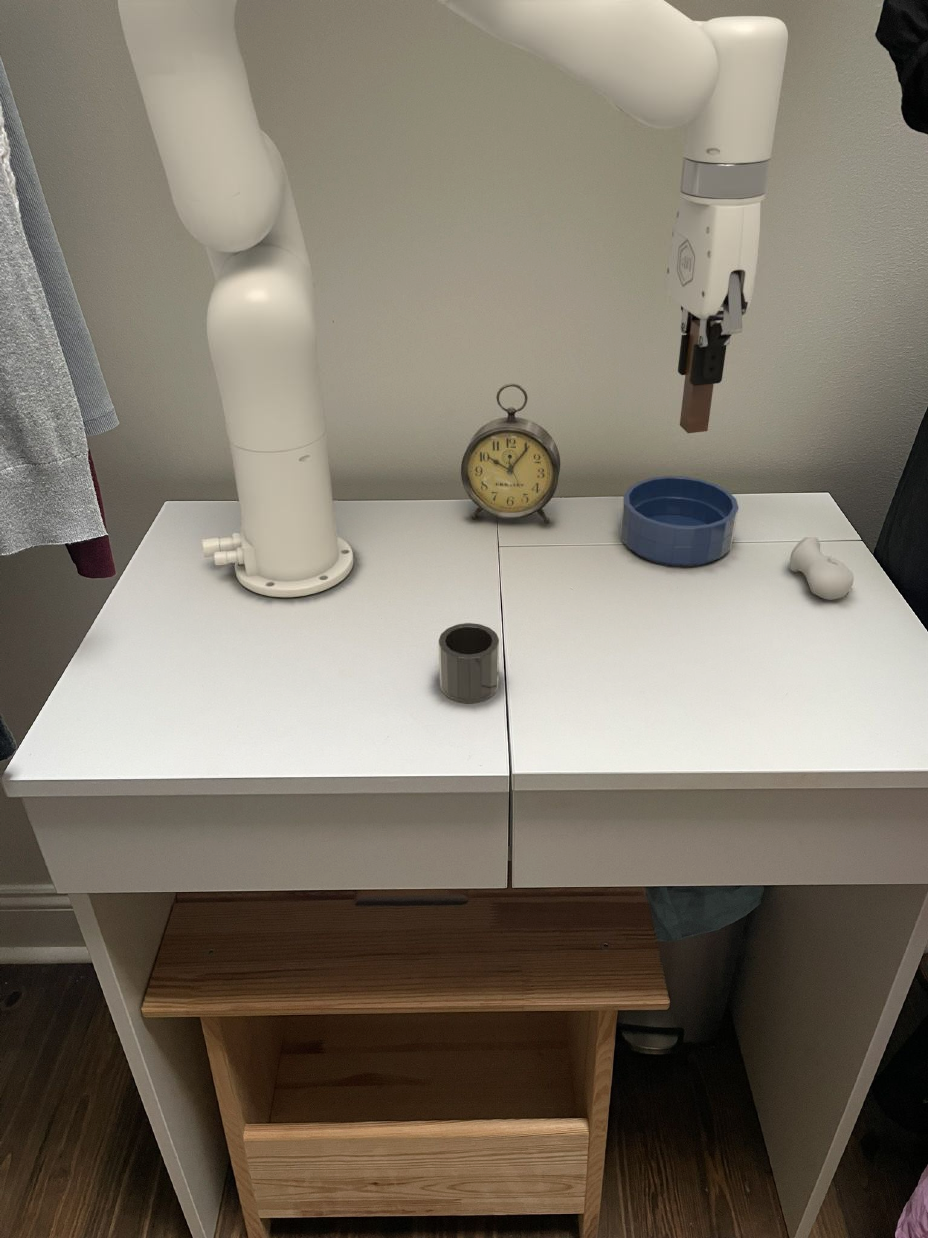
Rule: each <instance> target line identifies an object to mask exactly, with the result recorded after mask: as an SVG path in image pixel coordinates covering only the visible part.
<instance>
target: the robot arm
mask: <svg viewBox="0 0 928 1238" xmlns="http://www.w3.org/2000/svg"><path fill="white" fill-rule="evenodd" d="M237 2H238V0H117V7H118V13H119V18H120V23H121V28H122V32H123V35H124V39H125V42H126V46H127V49H128V53H129V56H130V59H131V63H132V67H133V70H134V73H135V77H136V80H137V84H138V86H139V89H140V93H141V96H142V99H143V104H144V107H145V110H146V114H147V117H148V121H149V124H150V127H151V131H152V134H153V138H154V140H155V144H156V147H157V151H158V153H159V157H160V160H161V163H162V166H163V169H164V172H165V176H166V180H167V183H168V187H169V191H170V193H171V199H172V203H173V206H174V208H175V211H176V213H177V216H178V218H179V219H180V221H181V223H182V224H183V226H184V228H185V229H186V230H187V231H188V232H189V233H190V234H191V236H193V238H194V239H195V240H197V241H198V242H199V243H200V244H202V245H203V246H204V248H205V251H206V254H207V257H208V260H209V264H210V266H211V269H212V273H213V276H214V280H215V283H214V286H213V287H212V288H213V289H212V291H211V294H210V297H209V301H208V305H207V310H206V311H207V312H206V337H207V344H208V349H209V353H210V358H211V361H212V366H213V369H214V374H215V377H216V382H217V386H218V391H219V394H220V399H221V406H222V410H223V416H224V422H225V429H226V434H227V439H228V444H229V450H230V456H231V462H232V467H233V475H234V480H235V486H236V492H237V497H238V504H239V510H240V517H241V523H240V532H233V533H232V534H231V536H227V537H226V536H225V537H210V538H202V539H201V545H202V552H203V557H204V558H210V557H213V558H214V564H215V566H223V565H228V564H234V571H235V576H236V579H237V580H238V582H239V583H240V584H241V585H242V586H243V587H244V588H245V589H248V590H249V591H251V592H253V593H257V594H258V595H262V596H267V597H273V598H296V597H297V598H298V597H305V596H309V595H314V594H318V593H321V592H324V591H326V590H328V589H330V588H332V587H334V586H336V585H338V584H339V583H340V582H342V581H344V579H345V578H346V577H348V575H349V574H350V573H351V571H352V569H353V567H354V552H353V550H352V547H351V545H350V544H349V543H348V542H347V541H346V540H344V539H343V538H342V537H340V536H338V535H337V527H336V516H335V508H334V507H335V505H334V499H333V498H334V497H333V488H332V477H331V468H330V459H329V458H330V457H329V456H330V455H329V449H328V438H327V428H326V422H325V421H326V420H325V412H324V411H325V409H324V403H323V392H322V385H321V384H322V383H321V375H320V367H319V357H318V343H317V341H318V340H317V328H316V309H317V308H316V285H315V279H314V274H313V271H312V267H311V262H310V259H309V254H308V251H307V248H306V243H305V239H304V235H303V231H302V228H301V227H302V226H301V224H300V220H299V215H298V211H297V208H296V204H295V200H294V196H293V191H292V187H291V184H290V180H289V177H288V173H287V169H286V166H285V163H284V160H283V158H282V156H281V155H282V154H281V153H280V151H279V149H278V148H277V146H276V144H275V143H274V141H273V140H272V139H271V138H270V137H269V136H268V134H267V133H265V131H263V130H262V129H261V127H260V122H259V120H258V115H257V112H256V109H255V105H254V102H253V97H252V94H251V90H250V85H249V79H248V74H247V70H246V66H245V63H244V59H243V56H242V54H241V51H240V45H239V42H238V38H237V34H236V28H235V11H236V7H237ZM436 2H438V3H439V4H441V5H443V6H444V7H445V8H447V9H449V10H450V11H452V12H453V13H455V14H457V15H458V16H460V17H461V18H463V19H464V20H465V21H467V22H469V23H470V24H472V25H473V26H475V27H477V28H478V29H480V30H482V31H484V32H485V33H487V34H488V35H490V36H492V37H494V38H495V39H497V40H499V41H500V42H503V43H506V44H508V45H509V46H513V47H516V48H518V49H521V50H523V51H525V52H528V53H530V54H532V55H534V56H536V57H538V58H540V59H542V60H544V61H545V62H547V63H548V64H551V65H553V66H554V67H556V68H558V69H559V70H561V71H562V72H564V73H566V74H568V75H569V76H571V77H572V78H574V79H576V80H577V81H579V82H581V83H582V84H584V85H585V86H587V87H589V88H590V89H591V90H593V91H595V92H596V93H598V94H599V95H601V96H603V98H604V99H605V101H606V102H607V103H608V104H609V105H610V106H611V107H612V108H613V109H615V110H616V111H618V112H620V113H621V114H623V115H625V116H627V117H630V118H631V119H634V120H636V121H638V122H640V123H641V124H643V125H645V126H647V127H649V128H653V129H657V130H672V129H676V128H680V127H683V126H684V125H686V127H685V128H686V129H685V139H684V150H683V157H682V158H683V159H682V168H681V177H680V189H679V200H678V204H677V208H676V212H675V217H674V222H673V227H672V232H671V238H670V240H671V241H670V245H669V252H668V259H667V267H666V274H665V282H664V283H665V284H664V289H665V293H666V294H667V296H668V297H669V298H670V299H672V300H673V301H674V302H675V303H677V304H678V305H679V306H680V310H681V320H680V321H681V322H680V332H681V336H680V337H681V338H680V346H679V347H680V348H679V355H678V356H679V357H678V365H677V372H678V374H679V375H681V376H685V373H686V364H687V356H688V347H689V338H690V329H691V321H692V320H700V329H699V338H698V344H696V345H694V348H693V356H692V365H691V373H690V383H691V384H692V385H693V386H697V385H707V384H714V385H716V384H720V383H721V382H722V381H723V380H722V379H723V376H724V375H723V374H724V368H725V367H724V366H725V360H726V353H727V347H728V346H729V344H730V341H731V337H732V336H733V335H736V334H739V333H741V332H742V330H743V316H744V315H746V314H747V313H748V311H749V310H750V307H751V305H752V300H753V296H754V290H755V283H756V277H757V270H758V269H757V268H758V260H759V259H758V258H759V249H760V237H761V236H760V234H761V206H762V205H761V203H762V202H763V201H765V200H766V193H767V192H766V191H767V186H768V179H769V172H770V166H771V157H772V151H773V143H774V139H775V132H776V131H775V130H776V124H777V117H778V111H779V106H780V98H781V93H782V85H783V79H784V72H785V64H786V58H787V51H788V44H789V32H788V28H787V25H786V24H785V22H783V20H781V19H779V18H777V17H773V16H764V15H762V16H761V15H737V16H736V15H735V16H720V17H714V18H710V19H709V20H706V21H704V20H692V19H691V18H690V17H688V16H687V15H685V14H684V13H683V12H681V11H680V10H679V9H677V8H675V6H673V5H671V4H670V3H668V2H667V1H665V0H436ZM721 308H723V309H722V310H720V309H721ZM711 321H716V322H718V321H719V322H718V323H714V324H713V325H712V327H711V328H710V324H711Z"/></svg>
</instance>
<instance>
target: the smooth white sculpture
mask: <svg viewBox="0 0 928 1238" xmlns="http://www.w3.org/2000/svg"><path fill="white" fill-rule="evenodd" d="M820 549H821V543H820V539H819V538H817V537H815V536H805V537H803V538H801V540H800V541H799V542H798V543H797V544H796V545H795V546H794V547H793V548H792V551H791V553H790V557H789V569H790V571H792V572H794V573H795V572H801V573H803V575H804V576H805V577H806V581H807V583H808V585H809V588H810V591H811V593H812V594H813V595H816V596H818V597H820V598H822V599H825V600H839V599H842V598H843V597H845V596H846V595H847V594H848V593H849V592H850V590H851V589H852V588H853V584H854V574H853V572H852V571H851V570H850V568H848V567H847V566H846V565H845V563H844V562H842V561H841V560H840V559H837V558H836V557H832V556H830V555H824V554H823V553H822V552H821V550H820Z"/></svg>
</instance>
